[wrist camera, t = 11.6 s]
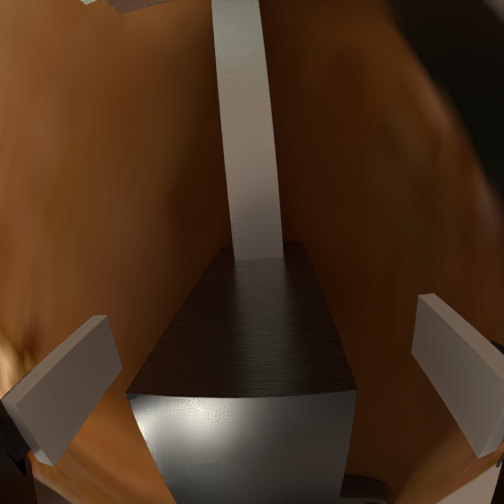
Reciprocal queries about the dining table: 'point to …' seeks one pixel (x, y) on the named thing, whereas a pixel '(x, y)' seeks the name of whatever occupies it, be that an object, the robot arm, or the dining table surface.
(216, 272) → the scraper
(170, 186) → the dining table surface
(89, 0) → the cabinet
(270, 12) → the dining table surface
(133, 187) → the dining table surface
